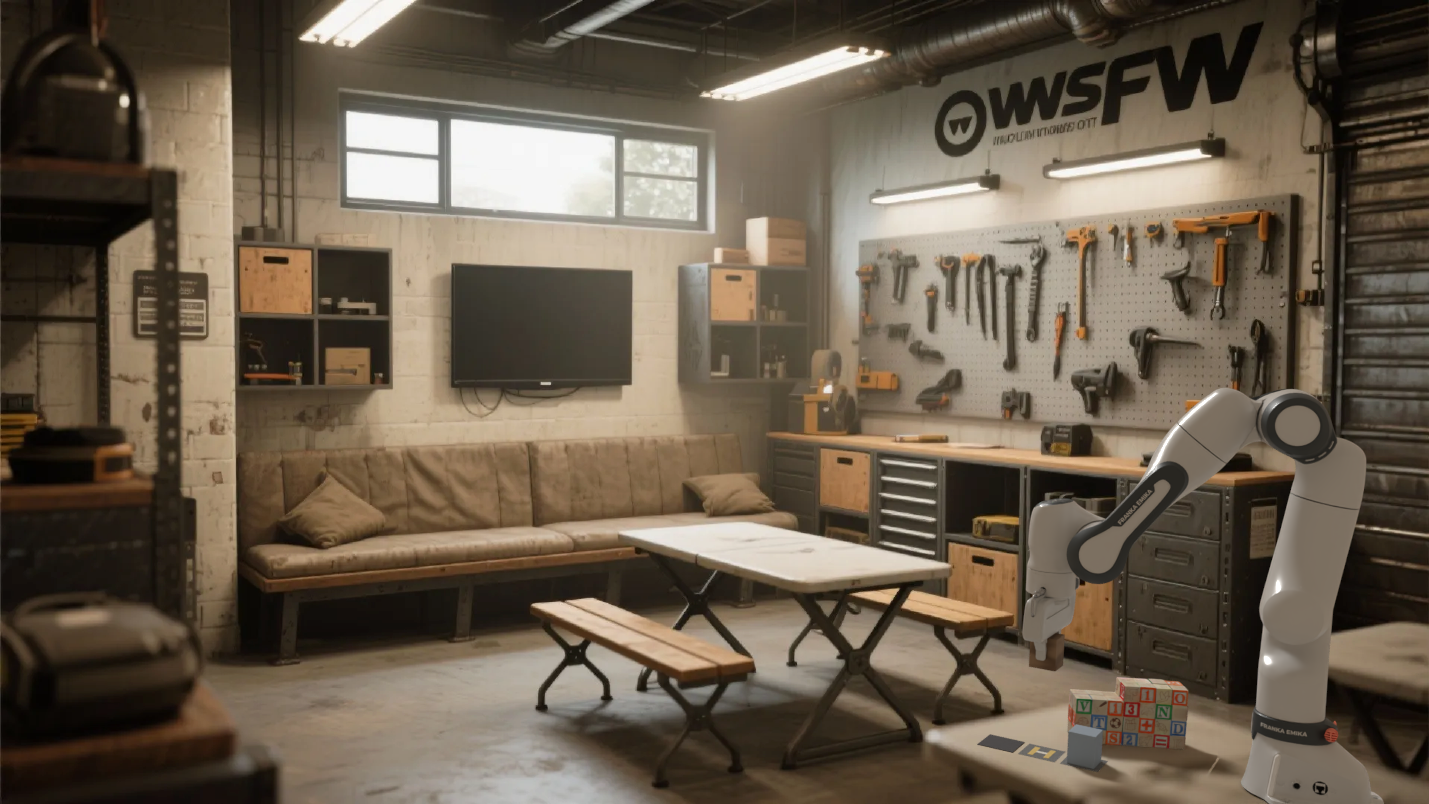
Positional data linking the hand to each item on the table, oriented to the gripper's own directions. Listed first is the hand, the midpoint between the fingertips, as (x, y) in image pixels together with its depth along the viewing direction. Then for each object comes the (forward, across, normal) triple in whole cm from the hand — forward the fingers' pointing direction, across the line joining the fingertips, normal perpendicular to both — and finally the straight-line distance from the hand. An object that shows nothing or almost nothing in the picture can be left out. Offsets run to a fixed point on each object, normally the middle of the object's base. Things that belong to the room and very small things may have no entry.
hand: (1046, 655), depth 223 cm
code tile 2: (+19, 0, -8) cm, 21 cm away
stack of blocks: (+20, +17, -11) cm, 28 cm away
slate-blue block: (+19, 0, -8) cm, 20 cm away
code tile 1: (+19, 0, 0) cm, 19 cm away
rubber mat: (+19, 0, +8) cm, 21 cm away
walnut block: (+2, 0, 0) cm, 2 cm away
